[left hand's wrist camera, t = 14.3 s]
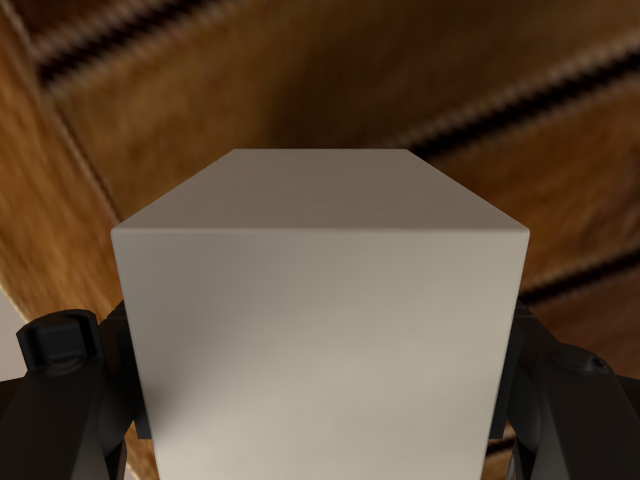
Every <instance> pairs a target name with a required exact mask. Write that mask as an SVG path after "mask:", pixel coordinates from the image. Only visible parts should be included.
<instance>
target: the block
mask: <svg viewBox="0 0 640 480" xmlns="http://www.w3.org/2000/svg"><path fill="white" fill-rule="evenodd" d="M529 236H530V231H529V229H528V228H526V227H525V226H523V225H522V224H520V223H519V222H517V221H516V220H514V219H513V218H511V217H510V216H508V215H506V214H505V213H503V212H502V211H500V210H499V209H497V208H496V207H494V206H493V205H491V204H490V203H488V202H486V201H485V200H483V199H482V198H480V197H479V196H477V195H476V194H474V193H473V192H471V191H470V190H468V189H466V188H465V187H463V186H462V185H460V184H459V183H457V182H456V181H454V180H453V179H451V178H450V177H448V176H446V175H445V174H443V173H442V172H440V171H439V170H437V169H436V168H434V167H433V166H431V165H430V164H428V163H427V162H425V161H423V160H422V159H420V158H419V157H417V156H416V155H414V154H413V153H411V152H410V151H408V150H406V149H234V150H232V151H231V152H229V153H228V154H226V155H224V156H223V157H221V158H220V159H218V160H217V161H215V162H214V163H212V164H211V165H209V166H208V167H206V168H205V169H203V170H201V171H200V172H198V173H197V174H195V175H194V176H192V177H191V178H189V179H188V180H186V181H185V182H183V183H181V184H180V185H178V186H177V187H175V188H174V189H172V190H171V191H169V192H168V193H166V194H165V195H163V196H162V197H160V198H158V199H157V200H155V201H154V202H152V203H151V204H149V205H148V206H146V207H145V208H143V209H142V210H140V211H139V212H137V213H135V214H134V215H132V216H131V217H129V218H128V219H126V220H125V221H123V222H122V223H120V224H119V225H117V226H115V227H114V228H112V229H111V239H112V244H113V249H114V254H115V259H116V264H117V269H118V274H119V279H120V284H121V289H122V294H123V299H124V303H125V308H126V313H127V318H128V323H129V328H130V333H131V338H132V343H133V348H134V353H135V358H136V363H137V368H138V373H139V378H140V383H141V388H142V393H143V398H144V403H145V408H146V413H147V418H148V423H149V428H150V433H151V438H152V443H153V448H154V452H155V457H156V462H157V467H158V472H159V477H160V480H480V479H481V474H482V469H483V464H484V459H485V454H486V449H487V444H488V439H489V434H490V429H491V424H492V419H493V414H494V409H495V404H496V399H497V395H498V390H499V385H500V380H501V375H502V370H503V365H504V360H505V355H506V350H507V345H508V340H509V335H510V330H511V325H512V320H513V315H514V310H515V305H516V300H517V295H518V290H519V285H520V280H521V276H522V271H523V266H524V261H525V256H526V251H527V246H528V241H529Z"/></svg>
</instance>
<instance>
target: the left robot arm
mask: <svg viewBox="0 0 640 480" xmlns="http://www.w3.org/2000/svg"><path fill="white" fill-rule="evenodd" d="M16 336H17V339H18V342H19V345H20V348H21V351H22V354H23V357H24V360H25V364H26V367H27V370H28V371H27V372H26V374H25V376H24V377H21V378H16V379H11V380H7V381H1V382H0V480H124V473H125V466H126V458H127V448H126V443H125V438H124V435H125V434H126V432H127V430H128V428H129V427H130V425H131V423H132V421H133V420H134V423H135V427H136V432H137V437H138V439H152V438H151V433H150V428H149V423H148V418H147V413H146V408H145V403H144V398H143V393H142V388H141V383H140V378H139V373H138V368H137V363H136V358H135V353H134V348H133V343H132V338H131V333H130V328H129V323H128V318H127V313H126V308H125V303H124V299H123V300H122V301H121V302H120V303H119V305H118V306H117V307H116V308H115V310H113V311H112V312H111V313H110V314H109V315H108V316H107V319H104V320H103V321H102V322H101V323H100V324H99V326H98V323H97V318H96V315H95V314H94V313H92V312H91V311H89V310H83V309H71V310H63V311H59V312H54V313H50V314H47V315H45V316H42V317H39V318H37V319H35V320H33V321H31V322H30V323H28V324H26V325H24V326H23V327H22V328H21V329H20V330H19V331H18V332H17V333H16ZM506 419H508V421H509V422H510V424H511V426H512V428H513V429H514V431H515V433H516V438H515V443H514V447H513V451H512V455H511V460H510V464H509V468H508V474H507V479H508V480H513V476H514V472H516V479H517V480H640V380H638V379H633V378H628V377H623V376H618V375H615V373H614V372H613V370H612V369H611V367H610V366H609V365H608V364H607V363H606V362H605V361H604V360H603V359H601V358H600V357H598V356H597V355H595V354H594V353H592V352H589V351H587V350H585V349H583V348H580V347H577V346H573V345H569V344H566V343H560V342H559V341H558V340H557V339H556V338H555V337H554V336H553V335H552V334H551V333H550V332H549V331H548V330H547V329H546V328H545V327H544V326H543V324H542V323H541V322H540V321H539V320H538V319H537V318H534V315H533V314H532V313H531V312H530V311H529V310H528V309H526V307H525V306H524V305H523V304H522V303H521V302H520V301H519V299H518V298H517V300H516V305H515V310H514V315H513V320H512V325H511V330H510V335H509V340H508V345H507V350H506V355H505V360H504V365H503V370H502V375H501V380H500V385H499V390H498V395H497V399H496V404H495V409H494V414H493V419H492V424H491V429H490V434H489V439H502V438H503V433H504V429H505V424H506Z"/></svg>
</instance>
